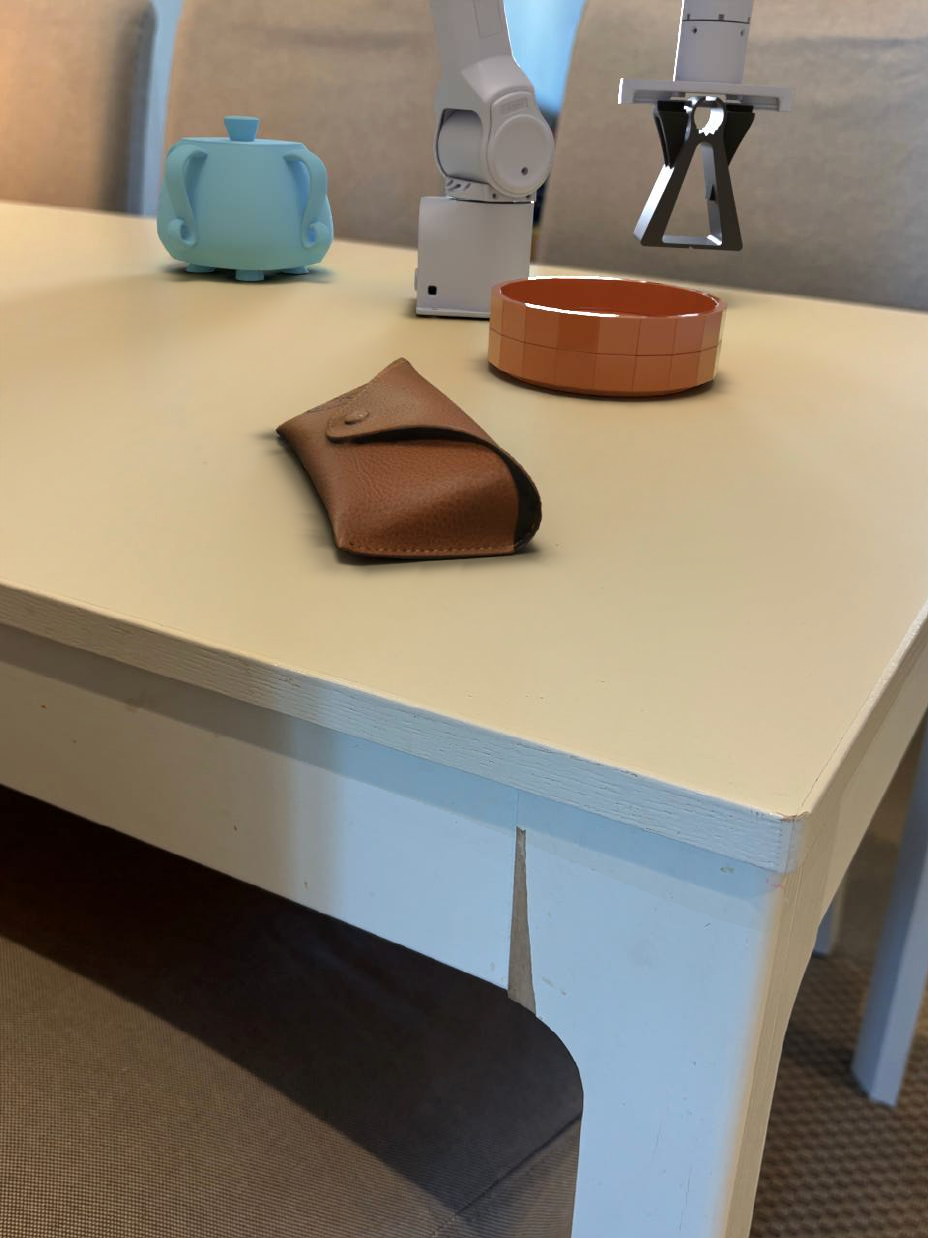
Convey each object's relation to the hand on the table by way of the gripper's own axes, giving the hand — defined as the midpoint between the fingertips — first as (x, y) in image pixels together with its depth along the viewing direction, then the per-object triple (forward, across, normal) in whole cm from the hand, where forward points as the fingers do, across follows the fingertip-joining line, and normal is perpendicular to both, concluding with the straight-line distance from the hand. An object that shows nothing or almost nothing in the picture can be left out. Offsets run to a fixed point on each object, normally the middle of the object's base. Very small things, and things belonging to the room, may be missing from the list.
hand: (691, 198), depth 94 cm
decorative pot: (+9, +41, -5) cm, 42 cm away
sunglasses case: (+9, +22, +55) cm, 60 cm away
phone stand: (+4, 0, 0) cm, 4 cm away
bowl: (+9, +10, +30) cm, 33 cm away
